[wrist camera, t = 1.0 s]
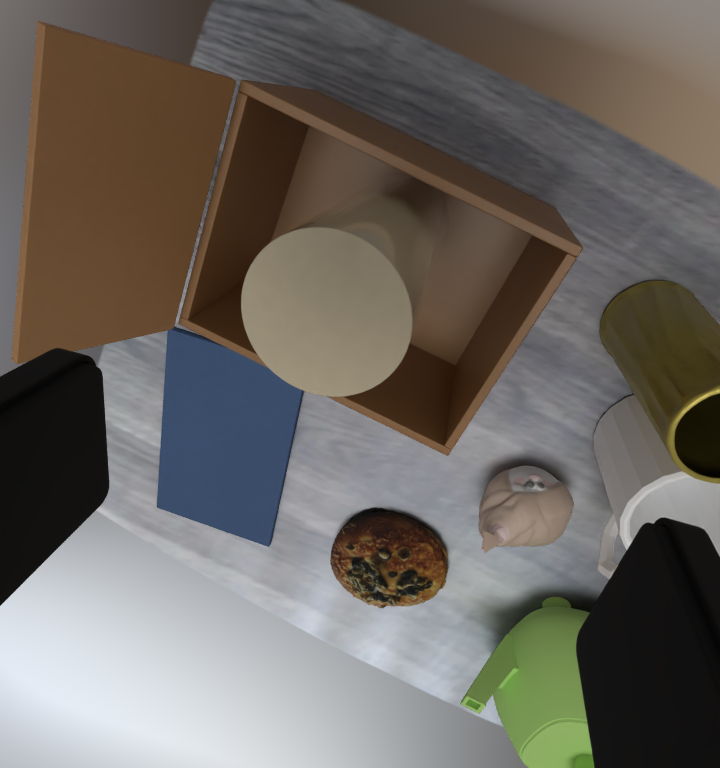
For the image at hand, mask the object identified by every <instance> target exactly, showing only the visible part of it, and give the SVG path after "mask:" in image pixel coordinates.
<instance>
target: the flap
mask: <svg viewBox="0 0 720 768" xmlns="http://www.w3.org/2000/svg"><path fill="white" fill-rule="evenodd" d="M235 84H236V81H235V80H234V79H232V78H230V77H227V76H224V75H220V74H217V73H213V72H210V71H207V70H203V69H200V68H196V67H193V66H190V65H186V64H183V63H179V62H176V61H173V60H169V59H166V58H162V57H159V56H156V55H152V54H149V53H145V52H142V51H139V50H135V49H132V48H129V47H125V46H122V45H118V44H115V43H112V42H108V41H105V40H101V39H98V38H95V37H91V36H88V35H85V34H81V33H78V32H74V31H71V30H68V29H64V28H61V27H57V26H54V25H51V24H47V23H44V22H40V21H38V22H37V33H36V48H35V60H34V73H33V86H32V100H31V113H30V126H29V139H28V152H27V165H26V178H25V191H24V204H23V217H22V230H21V231H22V232H21V244H20V256H19V271H18V283H17V296H16V309H15V322H14V335H13V348H12V360H13V361H14V362H15V363H16V364H19V363H24V362H29V361H31V360H32V359H34V358H36V357H38V356H40V355H42V354H44V353H46V352H47V351H49V350H51V349H54V348H62V349H65V350H69V351H77V350H81V349H86V348H91V347H95V346H99V345H104V344H108V343H113V342H117V341H122V340H126V339H131V338H135V337H139V336H144V335H148V334H153V333H157V332H162V331H166V330H170V329H173V328H174V324H175V321H176V317H177V313H178V309H179V305H180V301H181V297H182V293H183V289H184V285H185V281H186V277H187V273H188V269H189V265H190V261H191V258H192V254H193V250H194V246H195V242H196V238H197V234H198V230H199V226H200V222H201V218H202V214H203V210H204V206H205V202H206V198H207V195H208V191H209V187H210V183H211V179H212V175H213V171H214V167H215V163H216V159H217V155H218V151H219V147H220V143H221V139H222V135H223V132H224V128H225V124H226V120H227V116H228V112H229V108H230V104H231V100H232V96H233V92H234V88H235Z"/></svg>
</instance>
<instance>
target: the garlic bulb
mask: <svg viewBox="0 0 720 768" xmlns="http://www.w3.org/2000/svg"><path fill="white" fill-rule="evenodd" d="M573 506H574V502H573V499H572V496H571V494H570V492H569V490H568V488H567V487H566V485H565V484H564V483H562V482H560V481H558V480H556V479H555V478H554V477H553V476H552V475H551V474H550V473H548V472H547V471H545V470H543V469H540V468H538V467H534V466H519V467H515V468H513V469H508V470H505V471H503V472H501V473H499V474H498V475H497V476H495V477H494V478H493V479H492V480H491V481H490V482H489V483H488V485H487V489H486V491H485V493H484V496H483V498H482V500H481V502H480V507H479V532H480V534H481V536H482V538H483V543H482V549H484V553H486V552H487V551H489V550H490V549H492V548H493V547H495V546H511V547H515V546H542V545H548V544H550V543H552V542H554V541H555V540H556V539H558V538H559V537H560V536H561V535H562V534H563V532H564V531H565V529H566V526H567V523H568V521H569V519H570V517H571V516H572V509H573Z"/></svg>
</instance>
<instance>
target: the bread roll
mask: <svg viewBox="0 0 720 768" xmlns="http://www.w3.org/2000/svg"><path fill="white" fill-rule="evenodd" d="M330 561H331V566H332V570H333V573H334V575H335V577H336V579H337V580H338V581H339V582H340V584H341V585H342V586H343V587H344V588H345V589H346V590H347V591H348V592H350V593H351V594H352V595H353V596H354V597H356V598H359V599H360V600H362V601H364V602H365V603H367V604H368V605H375V606H377V607H379V608H384V607H385V606H412V605H417V604H420V603H423V602H425V601H427V600H429V599H431V598H433V597H434V596H435V595H436V594H437V592H438V591H439V589H442V588H443V587H444V585H445V583H446V581H445V578H446V574H447V573H448V565H447V553H446V550H445V548H444V547H443V545H442V544H441V541H440V540H439V539H438V538H437V537H436V535H435V534H434V533H433V532H432V531H431V530H430V529H428V528H426V527H424V526H423V525H422V524H420V523H418V522H417V521H415V520H411V519H410V518H408V517H404V515H400V514H397V513H396V514H395V513H393V512H391V511H387V510H384V509H381V508H379V509H377V508H374V509H370V510H367V511H364V512H361V513H360V514H358V515H356V516H355V517H353V518H351V519H350V520H349V522H348V523H347V524H346V525H344V526H343V528H342V529H341V531H340V532H339V533H338V535H337V537H336V539H335V542H334V544H333V547H332V551H331V560H330Z"/></svg>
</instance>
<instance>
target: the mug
mask: <svg viewBox="0 0 720 768" xmlns="http://www.w3.org/2000/svg"><path fill="white" fill-rule="evenodd" d="M593 443H594V453H595V456H596V459H597V462H598V466H599V469H600V472H601V475H602V479H603V482H604V485H605V489H606V492H607V495H608V498H609V502H610V505H611V508H612V511H613V514H612V516H611V518H610V520H609V521H608V523H607V525H606V527H605V529H604V531H603V533H602V536H601V544H600V553H599V561H598V569H597V571H599V572H600V573H601V574H603V575H604V576H605V577H607V578H608V579H609V580H610V578H611V576H612V575H613V573H614V571H615V570H616V568H617V566H618V565H619V564H618V565H615V564H614V563H613V558H614V549H615V540H616V536H617V534H618V532H619V534H620V537H621V539H622V541H623V543H624V546H625V548H626V550H627V549H628V548H629V546H630V544H631V543H632V541H633V539H634V538H635V536H636V534H637V533H638V531H639V529H640V528H641V527H642V525H643V524H645V523H653V524H654V522H655V521H656V520H658V519H659V518H662V517H665V518H669V519H673V520H676V521H680V522H683V523H687V524H690V525H694V526H698V527H701V528H702V529H704V530H705V531H706V532H707V534H708V535H709V537H710V539H711V541H712V543H713V545H714V547H715V549H716V551H717V552H718V554H719V556H720V484H716V483H710V482H705V481H701V480H698V479H695V478H693V477H691V476H689V475H688V474H686V473H685V472H683V471H682V470H681V469H679V468H678V467H677V466H676V465H675V463H674V462H673V461H672V459H671V457H670V455H669V453H668V451H667V449H666V447H665V445H664V444H663V442H662V440H661V438H660V436H659V435H658V433H657V431H656V430H655V428H654V426H653V425H652V423H651V421H650V420H649V418H648V416H647V415H646V413H645V411H644V410H643V408H642V406H641V405H640V403H639V401H638V400H637V398H636V396H635V395H632V396H629V397H626V398H624V399H623V400H621V401H620V402H618V403H617V404H615V405H614V406H612V407H610V409H609V410H608V411H607V412H606V413H605V414H604V416H603V417H602V418H601V419H600V420H599V422H598V425H597V427H596V430H595V433H594V435H593Z"/></svg>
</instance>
